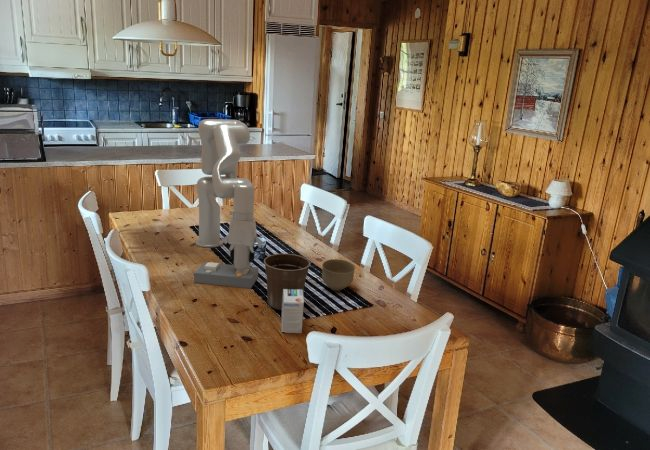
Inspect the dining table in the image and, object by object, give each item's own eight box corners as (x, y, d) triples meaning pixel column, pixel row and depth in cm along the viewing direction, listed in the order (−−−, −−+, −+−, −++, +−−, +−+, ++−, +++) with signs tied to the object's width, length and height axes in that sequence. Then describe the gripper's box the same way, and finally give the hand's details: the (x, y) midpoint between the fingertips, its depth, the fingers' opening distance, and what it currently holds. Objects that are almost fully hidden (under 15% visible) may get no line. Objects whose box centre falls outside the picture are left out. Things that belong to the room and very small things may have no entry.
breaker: (208, 269, 208) (208, 262, 207) (219, 270, 207) (219, 263, 206) (204, 273, 203) (204, 265, 203) (215, 274, 203) (215, 267, 202)
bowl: (325, 296, 196) (327, 271, 193) (317, 283, 208) (318, 259, 205) (357, 294, 200) (359, 270, 197) (347, 281, 211) (349, 258, 209)
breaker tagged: (238, 276, 207) (238, 268, 206) (248, 277, 207) (249, 269, 206) (234, 280, 203) (235, 272, 202) (246, 281, 202) (246, 273, 202)
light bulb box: (281, 318, 177) (282, 288, 174) (301, 318, 178) (302, 288, 175) (281, 333, 167) (282, 302, 164) (302, 333, 168) (304, 302, 165)
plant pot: (316, 303, 190) (319, 261, 186) (289, 318, 177) (291, 273, 173) (281, 290, 199) (283, 250, 194) (252, 304, 186) (254, 261, 181)
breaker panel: (204, 271, 212) (204, 260, 211) (258, 276, 210) (258, 266, 209) (194, 282, 201) (194, 271, 199) (250, 288, 199) (251, 277, 198)
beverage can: (253, 267, 205) (254, 237, 202) (244, 272, 200) (245, 242, 196) (239, 263, 208) (240, 234, 204) (230, 268, 202) (230, 238, 199)
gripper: (217, 216, 195) (217, 261, 200) (263, 220, 193) (262, 266, 199) (223, 210, 202) (223, 254, 207) (268, 215, 201) (266, 259, 206)
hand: (242, 260), depth 203 cm, fingers closed on beverage can, 6 cm apart
